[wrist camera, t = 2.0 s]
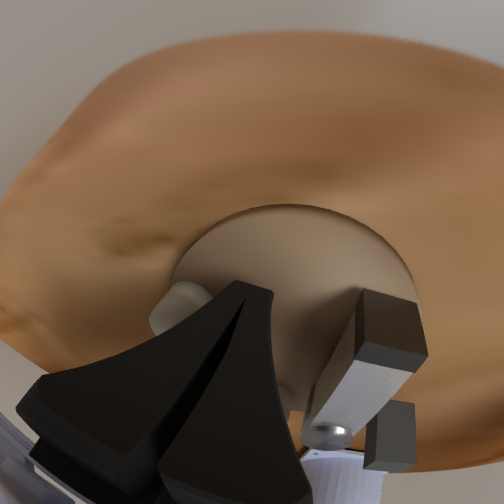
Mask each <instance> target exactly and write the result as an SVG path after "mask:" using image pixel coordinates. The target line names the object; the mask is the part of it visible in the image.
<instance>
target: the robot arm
mask: <svg viewBox="0 0 504 504" xmlns="http://www.w3.org/2000/svg"><path fill="white" fill-rule="evenodd" d="M273 298H274V293H273V291H272V290H269V289H266V288H263V287H259V286H256V285H253V284H249V283H246V282H243V281H239V280H234V281H232V282H231V283H230V284H229V285H228V286H227V287H226V288H225V289H224V290H222V291H221V292H220V293H219V294H218V295H216V296H215V297H214V298H213V299H211V300H210V301H209V302H208V303H206V304H205V305H204V306H202V307H201V308H200V309H198V310H197V311H196V312H194V313H193V314H191V315H190V316H188V317H187V318H185V319H184V320H182V321H181V322H179V323H178V324H176V325H175V326H173V327H172V328H170V329H168V330H166V331H165V332H163V333H161V334H160V335H158V336H156V337H154V338H152V339H150V340H148V341H146V342H144V343H142V344H140V345H138V346H136V347H134V348H131V349H129V350H127V351H125V352H122V353H120V354H117V355H115V356H112V357H109V358H106V359H103V360H100V361H97V362H94V363H91V364H88V365H85V366H81V367H78V368H74V369H69V370H65V371H60V372H56V373H51V374H45V375H42V376H41V377H40V378H39V379H38V380H37V381H36V382H35V383H34V384H33V386H32V387H31V388H30V389H29V390H28V392H27V393H26V394H25V396H24V397H23V398H22V399H21V401H20V402H19V403H18V405H17V406H16V412H17V413H18V414H19V416H20V417H21V418H22V419H23V420H24V421H25V422H26V423H27V424H28V425H29V427H30V428H31V429H32V430H34V432H35V433H36V434H37V435H38V436H39V437H40V438H39V440H38V441H37V443H36V444H35V443H33V442H32V441H31V440H30V439H29V438H28V437H26V436H25V435H24V434H23V433H22V432H21V431H20V430H19V429H18V428H16V427H15V426H14V425H13V424H12V423H11V422H10V421H9V420H8V419H7V418H6V417H5V416H4V415H3V414H2V413H1V412H0V504H75V502H74V500H72V499H71V498H70V497H69V496H68V495H66V494H65V493H64V492H62V491H61V490H60V489H58V488H57V487H56V486H54V485H53V484H51V483H50V482H48V481H47V480H45V479H44V478H43V477H41V476H40V475H38V474H37V473H35V471H34V465H35V466H36V467H37V468H39V469H40V470H41V471H42V472H44V473H45V474H46V475H47V476H49V477H50V478H51V479H53V480H54V481H55V482H57V483H58V484H59V485H60V486H62V487H63V488H65V489H66V490H67V491H69V492H70V493H72V494H74V495H75V496H76V497H78V498H79V499H81V500H82V501H84V502H85V503H87V504H380V500H381V492H382V482H383V475H385V474H386V473H388V472H386V471H374V470H364V469H363V462H364V452H357V451H350V450H344V449H342V450H337V451H320V450H315V449H312V448H309V449H308V450H307V451H306V452H305V453H304V454H303V455H302V457H301V458H300V459H299V457H298V454H297V451H296V449H295V446H294V443H293V441H292V438H291V434H290V431H289V428H288V425H287V421H286V418H285V415H284V412H283V408H282V404H281V400H280V395H279V391H278V386H277V381H276V375H275V369H274V362H273V354H272V343H271V308H272V302H273Z"/></svg>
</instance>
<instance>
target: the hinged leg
mask: <svg viewBox="0 0 504 504" xmlns="http://www.w3.org/2000/svg"><path fill="white" fill-rule="evenodd" d="M427 357H428V351H427V346H426V341H425V336H424V331H423V327H422V322H421V318H420V314H419V310H418V306H417V303H415V302H412V301H408V300H405V299H401V298H398V297H394V296H391V295H387V294H383V293H380V292H376V291H373V290H369V289H366V288H363V290H362V292H361V294H360V296H359V298H358V301H357V303H356V305H355V311H354V313H353V315H352V317H351V319H350V321H349V323H348V325H347V327H346V329H345V331H344V333H343V335H342V337H341V339H340V341H339V343H338V345H337V347H336V349H335V350H334V352H333V354H332V356H331V358H330V360H329V361H328V363H327V365H326V367H325V369H324V370H323V372H322V374H321V376H320V378H319V379H318V381H317V383H316V384H314V385H313V386H312V387H311V389H310V394H309V396H308V400H307V405H306V409H305V414H304V419H303V423H302V428H301V432H300V436H299V440H300V441H301V443H302V444H304V445H305V446H307V447H309V448H312V449H315V450H320V451H337V450H342V449H345V448H347V447H349V446H350V445H351V444H352V440H353V437H354V436H355V435H356V434H357V433H358V432H359V431H360V430H361V429H362V428H363V427H364V426H365V425H366V424H367V423H368V422H369V421H370V420H371V419H372V418H373V417H374V416H375V415H376V414H377V413H378V412H379V411H380V409H381V408H382V407H383V406H384V405H385V404H386V403H387V402H388V401H389V400H390V399H391V397H392V396H393V395H394V394H395V393H396V392H397V391H398V390H399V388H400V387H401V386H402V385H403V384H404V382H405V381H406V380H407V379H408V378H409V376H410V375H411V374H412V373H415V372H416V371H417V370H418V369H419V367H420V366H421V365H422V364H423V362H424V361H425V360H426V359H427Z"/></svg>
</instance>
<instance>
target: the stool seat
mask: <svg viewBox="0 0 504 504" xmlns="http://www.w3.org/2000/svg"><path fill="white" fill-rule="evenodd" d="M234 280H239V281H243V282H246V283H249V284H253V285H256V286H259V287H263V288H266V289H269V290H272V291H273V293H274V298H273V302H272V308H271V343H272V354H273V362H274V369H275V375H276V381H277V386H278V391H279V395H280V400H281V404H282V408H283V412H284V415H285V418H286V421H287V423H288V419H289V415H290V411H291V410H294V411H305V409H306V405H307V400H308V396H309V394H310V389H311V387H312V386H313V385H314V384H316V383H317V381H318V379H319V378H320V376H321V374H322V372H323V370H324V369H325V367H326V365H327V363H328V361H329V360H330V358H331V356H332V354H333V352H334V350H335V349H336V347H337V345H338V343H339V341H340V339H341V337H342V335H343V333H344V331H345V329H346V327H347V325H348V323H349V321H350V319H351V317H352V315H353V313H354V311H355V305H356V303H357V301H358V298H359V296H360V294H361V292H362V290H363V288H366V289H369V290H373V291H376V292H380V293H383V294H387V295H391V296H394V297H398V298H401V299H405V300H408V301H412V302H415V303H417V306H418V310H419V314H420V318H421V322H422V327H423V320H422V310H421V306H420V302H419V298H418V295H417V291H416V288H415V285H414V281H413V278H412V276H411V274H410V272H409V270H408V268H407V266H406V264H405V262H404V261H403V260H402V258H401V257H400V256H399V254H398V253H397V251H396V250H395V249H394V248H393V247H392V246H391V245H390V244H389V243H388V242H387V241H386V240H385V239H384V238H383V237H382V236H380V235H379V234H377V233H376V232H375V231H373V230H372V229H371V228H369V227H368V226H366V225H364V224H362V223H360V222H359V221H357V220H355V219H353V218H351V217H349V216H346V215H343V214H340V213H338V212H335V211H332V210H329V209H324V208H320V207H315V206H310V205H299V204H276V205H266V206H261V207H256V208H251V209H248V210H245V211H242V212H239V213H236V214H234V215H232V216H230V217H228V218H226V219H224V220H222V221H220V222H218V223H217V224H216V225H214V226H213V227H212V228H210V229H209V230H208V231H206V233H205V234H204V235H203V236H202V237H201V238H200V239H199V240H198V241H197V242H196V243H195V244H194V245H193V246H192V247H191V248H190V249H189V250H188V252H187V253H186V254H185V255H184V256H183V258H182V259H181V261H180V262H179V264H178V265H177V267H176V269H175V271H174V274H173V276H172V278H171V283H170V287H169V291H168V292H167V293H166V295H165V296H164V297H163V298H162V300H161V301H160V302H159V303H158V304H157V306H156V307H155V308H154V309H153V311H152V312H151V313H150V315H149V324H150V327H151V329H152V331H153V332H154V334H155V335H156V336H158V335H160V334H161V333H163V332H165V331H166V330H168V329H170V328H172V327H173V326H175V325H176V324H178V323H179V322H181V321H182V320H184V319H185V318H187V317H188V316H190V315H191V314H193V313H194V312H196V311H197V310H198V309H200V308H201V307H202V306H204V305H205V304H206V303H208V302H209V301H210V300H211V299H213V298H214V297H215V296H216V295H218V294H219V293H220V292H221V291H222V290H224V289H225V288H226V287H227V286H228V285H229V284H230V283H231V282H232V281H234Z"/></svg>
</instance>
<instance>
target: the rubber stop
mask: <svg viewBox="0 0 504 504" xmlns="http://www.w3.org/2000/svg"><path fill="white" fill-rule="evenodd" d="M415 464H416V423H415V405H414V404H410V403H404V402H398V401H392V400H389V401H388V402H387V403H386V404H385V405H384V406H383V407H382V408H381V409H380V411H379V412H378V413H377V414H376V415H375V416H374V417H373V418H372V419H371V420H370V421H369V422H368V423H367V428H366V441H365V452H364V462H363V469H364V470H374V471H386V472H404V471H405V470H407V469H409V468H410V467H412V466H413V465H415Z"/></svg>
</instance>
